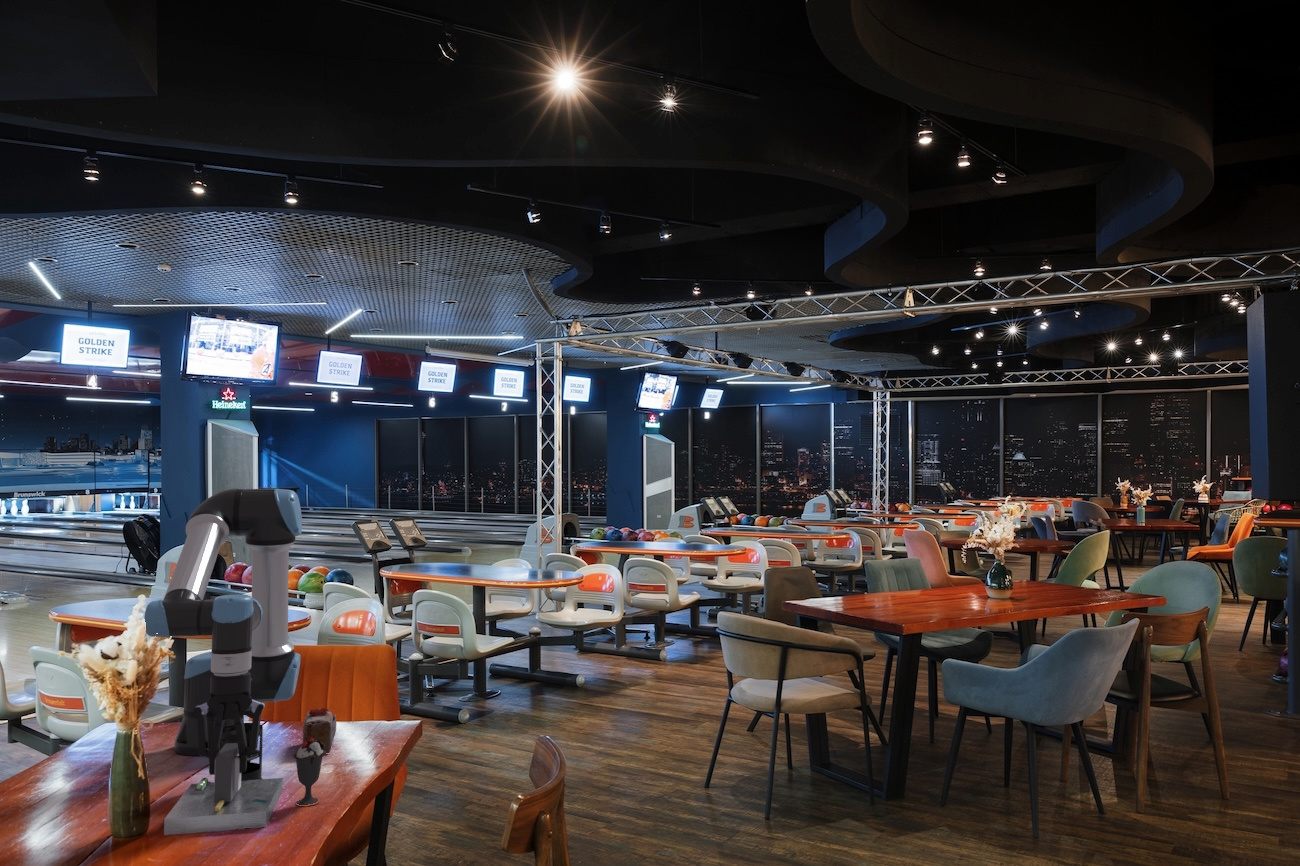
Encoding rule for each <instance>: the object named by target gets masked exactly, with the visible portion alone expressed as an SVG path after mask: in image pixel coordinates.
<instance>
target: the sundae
mask: <svg viewBox="0 0 1300 866" xmlns="http://www.w3.org/2000/svg"><path fill="white" fill-rule="evenodd" d="M304 735H305V736H306V735H307V732H306V733H304ZM307 737H308V736H307ZM308 738H309V739H308V740H307V741H306V742H305V738H304V742H303V741H302V743H301V747H299V749H298V750H297V751H296V752H294V753H292V755H291V756H292V757H293V758H294V759H295V762H296V763H295V764H296V772H297V773H296V774H297V778H298V781H299V783H300V784H301V785H302V786H304V787H305V793H304V796H303V798H301V800H300V799H299V801H298V800H296V802H295V803H297V804H299V805H308V804H313V803H316V802H317V801H318V799H319V798H318V797H313V794H312V786H313V785H315V784H316V782H318V780H319V777H320V774H321V768H322V767H321V766H322V761H323V758H324V756H325V757H326V755H325V754H326V751H325V750H322V749H323V748H324V744H323V743H322V742H321V741H320V740H317V741H316V740H314V739H313V738H310V737H308ZM317 798H318V799H317Z"/></svg>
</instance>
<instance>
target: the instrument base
mask: <svg viewBox="0 0 1300 866" xmlns="http://www.w3.org/2000/svg"><path fill="white" fill-rule="evenodd" d="M283 781H284V779H283V777H278V778H262V779H259V780H244V781H241V787H240V789H239V791H237V792H236V794H235V796H234V797H233V799H232V800H231V802H224V804H223V806H222V807H221V809H220V810H219V811H215V807H216V805H217V804H218V803H214V782H212V781H209V779H208V778H207V777H202V778H201V779H200V781H199V782H198V783H191V784H190V785H189V787H187V789H186V790H185V791H184V793H183V794H182V795H181V797H180V798H179V800H178V801H177V802H176V803H175V805H174V806H173V807H172V809H171V810H170V811H169V812H168V813H167V815H166V816H165V818H164V821H163V824H164V825H163V826H164V827H163V836H169V835H170V836H171V835H182V834H183V835H185V834H194V833H195V834H197V833H210V832H223V831H233V830H235V831H236V829H238V830H246V829H245V828H251V829H260V828H261V829H262V827H264V828H267V825H268V824H267V823H269V822H268V821H270V820H271V818H272V817H271V816H272V815H273V813H274V811H273V810H275V809H274V808H276V807H275V806H277V805H278V802H279V800H280V798H279V797H281V796H282V794H283V783H284V782H283ZM281 793H282V794H281ZM280 795H281V796H280ZM276 804H277V805H276ZM272 812H273V813H272Z"/></svg>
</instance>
